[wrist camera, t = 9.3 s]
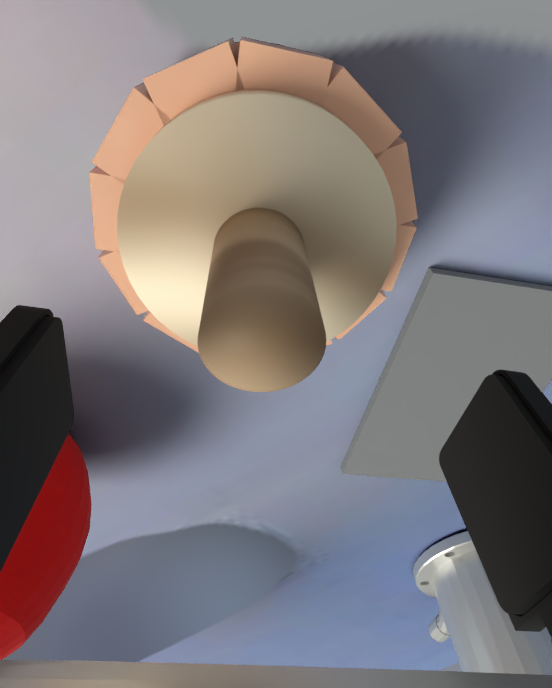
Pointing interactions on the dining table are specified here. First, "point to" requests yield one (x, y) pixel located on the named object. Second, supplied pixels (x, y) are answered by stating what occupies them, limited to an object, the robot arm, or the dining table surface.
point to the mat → (448, 368)
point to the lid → (257, 233)
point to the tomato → (45, 549)
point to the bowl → (227, 76)
